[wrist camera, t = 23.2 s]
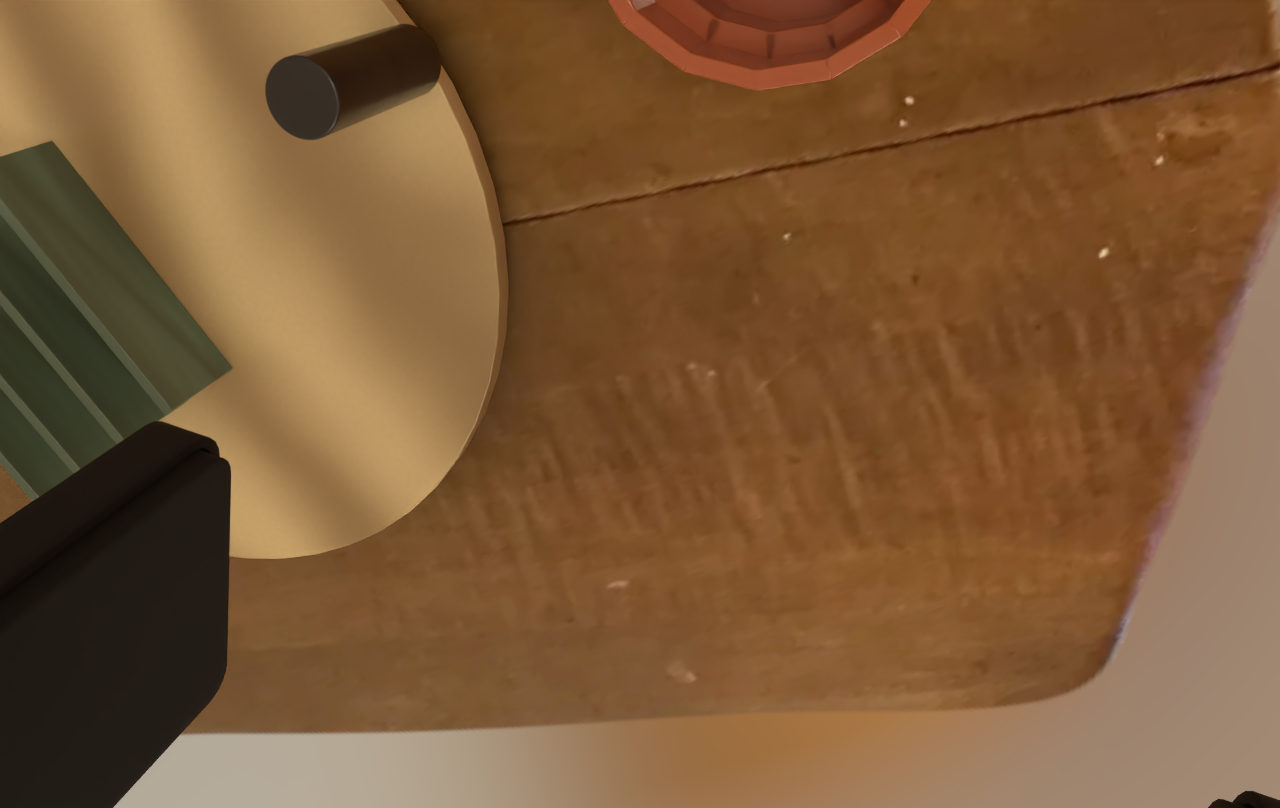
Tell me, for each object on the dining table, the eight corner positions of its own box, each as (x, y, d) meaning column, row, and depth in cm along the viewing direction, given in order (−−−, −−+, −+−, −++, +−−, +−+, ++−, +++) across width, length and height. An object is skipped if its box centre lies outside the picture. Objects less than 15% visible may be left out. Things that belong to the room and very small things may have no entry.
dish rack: (160, -382, 35) (-42, -439, 28) (671, 363, 42) (608, 465, 35) (-245, 127, 49) (-450, 172, 42) (188, 632, 55) (73, 744, 48)
